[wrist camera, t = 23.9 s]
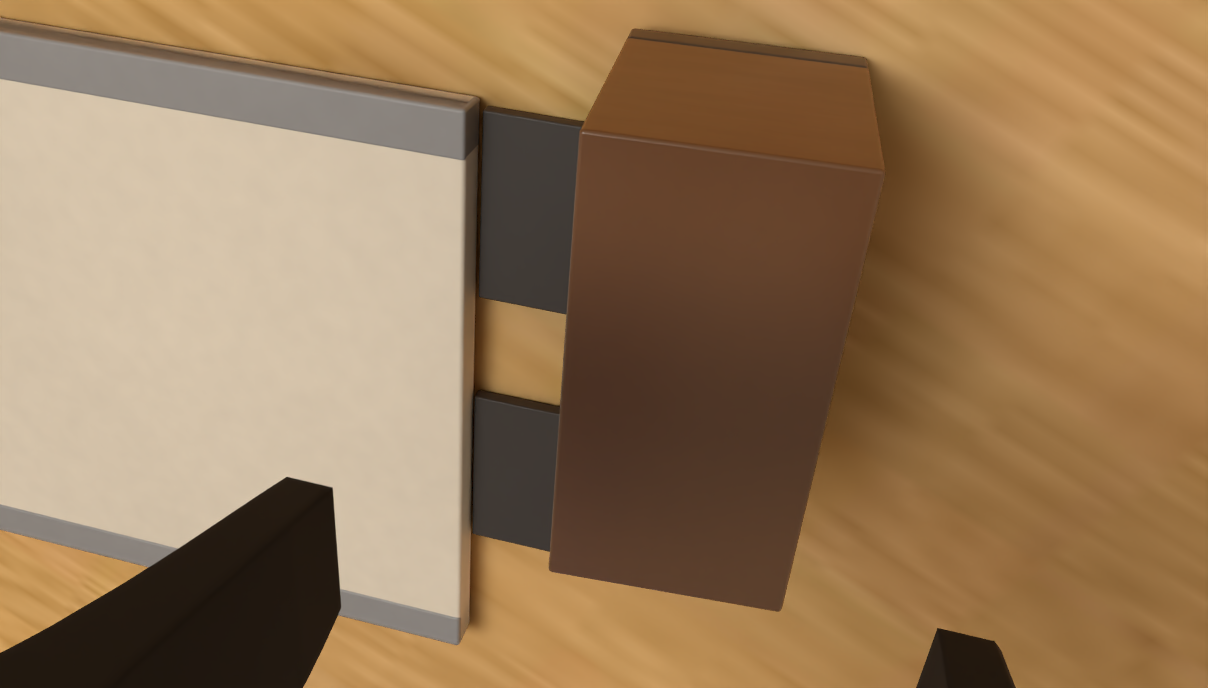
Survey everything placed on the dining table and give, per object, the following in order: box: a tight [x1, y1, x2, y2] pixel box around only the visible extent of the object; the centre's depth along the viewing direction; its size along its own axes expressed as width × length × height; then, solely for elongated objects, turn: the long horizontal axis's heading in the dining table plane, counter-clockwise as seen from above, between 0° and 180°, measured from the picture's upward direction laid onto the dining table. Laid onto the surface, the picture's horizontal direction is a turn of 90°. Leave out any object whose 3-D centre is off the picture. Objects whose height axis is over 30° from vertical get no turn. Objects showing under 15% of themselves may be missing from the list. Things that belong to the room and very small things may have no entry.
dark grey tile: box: [479, 106, 584, 314], centre depth 21 cm, size 4×3×1 cm
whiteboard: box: [0, 18, 479, 645], centre depth 25 cm, size 14×20×1 cm
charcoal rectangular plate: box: [472, 390, 560, 552], centre depth 24 cm, size 4×3×1 cm
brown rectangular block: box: [549, 29, 886, 612], centre depth 18 cm, size 8×4×5 cm, turn 175°
